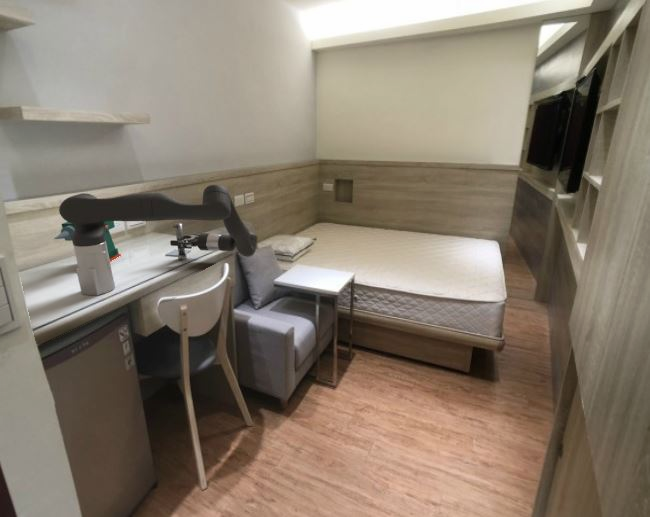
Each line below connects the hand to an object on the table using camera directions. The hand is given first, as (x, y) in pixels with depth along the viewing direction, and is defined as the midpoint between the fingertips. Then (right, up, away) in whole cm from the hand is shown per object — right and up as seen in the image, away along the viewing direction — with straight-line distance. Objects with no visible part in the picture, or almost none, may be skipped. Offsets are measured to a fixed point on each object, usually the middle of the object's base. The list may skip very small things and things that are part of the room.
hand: (176, 240), depth 152 cm
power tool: (-30, -12, -10) cm, 34 cm away
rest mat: (-3, -6, +10) cm, 12 cm away
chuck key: (+2, -8, +2) cm, 9 cm away
